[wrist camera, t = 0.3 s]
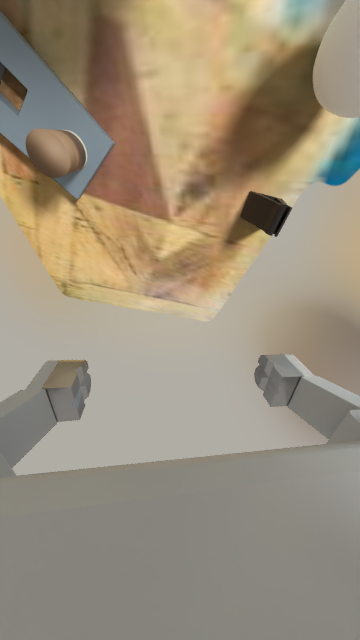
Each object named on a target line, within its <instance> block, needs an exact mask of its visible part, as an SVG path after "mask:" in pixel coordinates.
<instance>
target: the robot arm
mask: <svg viewBox="0 0 360 640" xmlns="http://www.w3.org/2000/svg"><path fill="white" fill-rule="evenodd" d="M258 363H259V364H260V365H259V366H258V367H257V368H256V370H255V373H254V375H255V382H256V384H257V386H258V387H259V388H260V389H261V390H263V391H264V394H263V395H264V397H265V399H266V400H267V402H268V403H269V405H270V406H271V407H275V406H288V408H289V409H291V410H292V411H294V412H295V413H296V414H297V415H298V416H300V417H301V418H302V419H304V420H305V421H306V422H307V423H308V424H310V425H311V426H312V427H314V428H315V429H316V430H317V431H319V432H320V433H321V434H322V435H324V436H325V437H326V438H328V439H329V441H328V442H327V444H322V445H312V446H303V447H294V448H283V449H273V450H264V451H254V452H245V453H234V454H225V455H215V456H206V457H195V458H186V459H177V460H166V461H156V462H147V463H137V464H127V465H117V466H108V467H98V468H88V469H79V470H69V471H58V472H49V473H39V474H29V475H20V476H16V474H15V472H14V471H13V469H12V468H13V466H15V465H16V464H17V463H18V462H19V461H20V460H21V458H23V457H24V456H25V455H26V454H27V453H28V452H29V451H30V450H31V449H32V448H33V447H34V446H35V445H36V444H37V443H38V442H39V441H40V440H41V439H42V438H43V437H44V436H45V435H46V434H47V433H48V432H49V431H50V430H51V429H52V428H53V427H54V426H55V425H56V424H57V422H62V421H72V420H80V418H81V415H82V412H83V410H84V407H85V404H84V400H85V399H86V398H87V397H88V396H89V393H90V388H91V377H90V375H89V374H88V373H87V370H88V363H87V361H86V360H61V361H59V360H57V361H47V362H45V364H44V365H43V366H42V368H41V369H40V370H39V372H38V373H37V374H36V376H35V377H34V378H33V380H32V381H31V383H30V384H29V385H28V387H27V388H26V389H25V390H20V391H18V392H17V393H15V394H13V395H12V396H10V397H9V398H7V399H5V400H3V401H2V402H0V640H360V397H359V396H358V395H355V394H354V393H351V392H349V391H347V390H345V389H343V388H341V387H339V386H337V385H335V384H333V383H331V382H329V381H327V380H325V379H323V378H321V377H319V376H314V375H313V374H312V373H311V372H310V371H309V370H308V369H307V368H306V367H305V366H304V365H303V364H302V363H301V362H300V361H299V360H298V359H297V358H296V357H295V356H294V355H292V354H280V355H261V356H260V358H259V360H258Z"/></svg>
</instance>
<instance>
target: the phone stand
mask: <svg viewBox="0 0 360 640" xmlns="http://www.w3.org/2000/svg"><path fill="white" fill-rule="evenodd" d="M291 210H292V207H290V206H288V205H287V204H286V203H285V202H284V201H283V199H279V198H276V197H272V196H268V195H264V194H260V193H256V192H253V191H251V192H250V194H249V197H248V199H247V202H246V205H245V207H244V210H243V212H242V215H241V217H242V218H243V219H245V220H247V221H248V222H250V223H252V224H253V225H255V226H257V227H258V228H260V229H262V230H263V231H264V232H265V233H266V234H268V235H271V236H272V235H273V234H275V236H276V237H277V236H278V234H279V232H280V230H281V228H282V226H283V225H284V223H285V221H286V219H287V217H288V215H289V213H290V212H291Z"/></svg>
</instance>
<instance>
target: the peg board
mask: <svg viewBox="0 0 360 640" xmlns="http://www.w3.org/2000/svg"><path fill="white" fill-rule="evenodd" d="M6 68H7V69H8V70H9V71H10V72H11V73H12V74H13V75H14V76H15V77H16V78H17V79H18V80H19V81H20V82H21V83H22V84H23V85H24V86H25V87H26V89H27V90H28V92H27V94H26V97H25V100H24V102H23V105H22V107H21V110H20V111H19V110H18V109H17V108H16V107H15V106H14V105H13V104H12V103H11V102H10V101H9V100H8V99H7V98H6V97H5V96H4V95H3V94H2V93H1V92H0V133H1V134H2V135H4V136H5V137H6V138H7V139H8V140H9V141H10V142H12V143H13V144H14V145H15V146H16V147H17V148H18V149H20V150H21V151H22V152H23V153H24V154H25V155H27V156H28V154H27V150H26V137H27V135H28V133H29V132H30V131H31V130H33V129H52V130H70V131H72V132H74V133H75V134H76V135H77V136H79V138H80V139H81V140H82V141H83V143H84V145H85V147H86V150H87V163H86V165H85V167H84V168H83V169H81V170H78V171H74V172H72V173H69V174H67V175H64V176H62V177H59V178H53V179H54V180H55V181H56V182H58V183H59V184H60V185H61V186H62V187H63V188H64V189H66V190H67V191H68V192H69V193H70V194H71V195H73V196H74V197H75V198H76V199H79V198H80V197H81V196H82V195H83V193H84V191H85V190H86V188H87V187H88V185H89V184H90V182H91V181H92V179H93V177H94V176H95V174H96V173H97V171H98V170H99V168H100V167H101V165H102V163H103V162H104V160H105V159H106V157H107V156H108V154H109V153H110V151H111V149H112V148H113V146H114V145H115V142H114V141H113V140H112V139H111V138H110V137H109V135H108V134H107V133H106V132H105V131H104V130H103V128H102V127H101V126H100V125H99V124H98V123H97V122H96V120H95V119H94V118H93V117H92V116H91V115H90V113H89V112H88V111H87V110H86V109H85V108H84V107H83V105H82V104H81V103H80V102H79V101H78V100H77V98H76V97H75V96H74V95H73V94H72V93H71V91H70V90H69V89H68V88H67V87H66V86H65V85H64V83H63V82H62V81H61V80H60V79H59V78H58V76H57V75H56V74H55V73H54V72H53V71H52V70H51V68H50V67H49V66H48V65H47V64H46V63H45V61H44V60H43V59H42V58H41V57H40V56H39V55H38V53H37V52H36V51H35V50H34V49H33V48H32V46H31V45H30V44H29V43H28V42H27V41H26V39H25V38H24V37H23V36H22V35H21V34H20V33H19V31H18V30H17V29H16V28H15V27H14V26H13V24H12V23H11V22H10V21H9V20H8V19H7V18H6V16H5V15H4V14H3V13H2V12H1V11H0V84H1V81H2V78H3V75H4V72H5V69H6ZM28 157H29V156H28Z"/></svg>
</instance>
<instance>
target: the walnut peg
mask: <svg viewBox="0 0 360 640" xmlns="http://www.w3.org/2000/svg"><path fill="white" fill-rule="evenodd" d="M26 150H27V154H28V156H29V158H30V160H31V162H32V163H33V164H34V166H35V167H36V168H37V169H38V170H39V171H40V172H41V173H43V174H44V175H46V176H49V177H52V178H59V177H62V176H64V175H67V174H69V173H72V172H74V171H78V170H81V169H83V168H84V167H85V165H86V163H87V150H86V147H85V145H84V143H83V141H82V140H81V139H80V138H79V136H77V135H76V134H75V133H74V132H72V131H70V130H52V129H33V130H31V131H30V132H29V133H28V135H27V137H26Z"/></svg>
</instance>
